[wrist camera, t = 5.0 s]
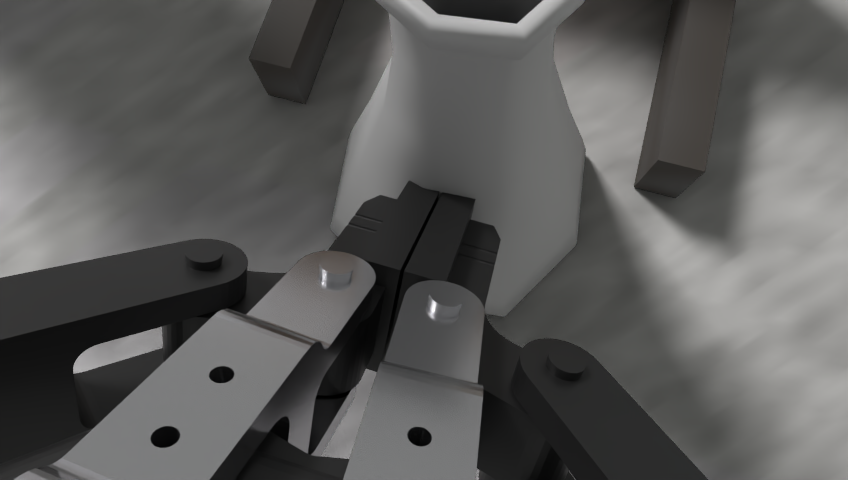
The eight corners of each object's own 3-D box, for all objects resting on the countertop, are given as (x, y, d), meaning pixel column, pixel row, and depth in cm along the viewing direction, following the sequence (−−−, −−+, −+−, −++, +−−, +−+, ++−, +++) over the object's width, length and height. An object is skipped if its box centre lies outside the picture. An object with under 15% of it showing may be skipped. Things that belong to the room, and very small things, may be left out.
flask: (519, 363, 16) (634, 298, 7) (288, 244, 17) (102, 42, 8) (624, 141, 18) (835, -166, 8) (406, 44, 19) (374, -328, 9)
